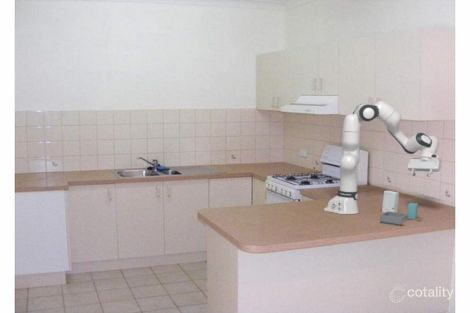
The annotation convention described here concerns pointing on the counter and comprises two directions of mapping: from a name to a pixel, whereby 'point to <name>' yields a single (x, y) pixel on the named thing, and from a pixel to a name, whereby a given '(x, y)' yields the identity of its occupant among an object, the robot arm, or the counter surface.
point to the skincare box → (390, 201)
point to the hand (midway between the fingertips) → (420, 175)
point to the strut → (412, 210)
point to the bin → (393, 218)
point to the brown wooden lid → (417, 219)
